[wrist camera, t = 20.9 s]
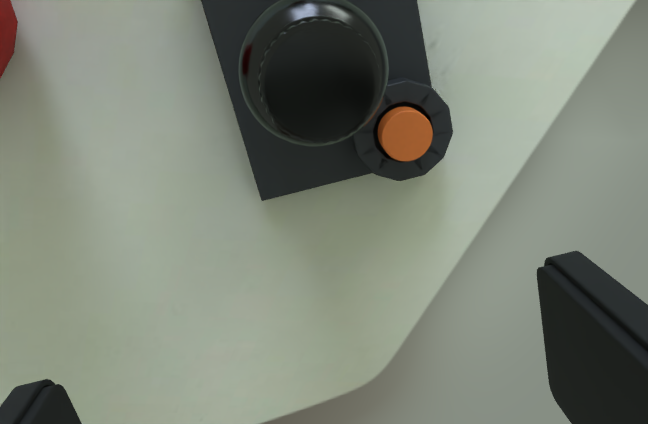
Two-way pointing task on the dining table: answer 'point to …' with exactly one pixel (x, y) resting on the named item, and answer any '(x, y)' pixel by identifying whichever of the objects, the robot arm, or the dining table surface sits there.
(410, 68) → the scale
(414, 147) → the button
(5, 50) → the apple
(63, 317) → the dining table surface
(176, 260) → the dining table surface
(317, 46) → the supplement bottle
